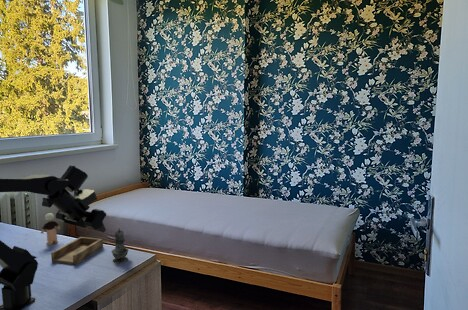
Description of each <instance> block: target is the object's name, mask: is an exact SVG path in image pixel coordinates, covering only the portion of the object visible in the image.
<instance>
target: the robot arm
mask: <svg viewBox="0 0 468 310" xmlns="http://www.w3.org/2000/svg"><path fill="white" fill-rule="evenodd" d="M87 179H89V175H88V174H87V172H86V171H83V170H82V169H80V168H78V167H77V166H76V165H69V166H68V167H67V168H66V170H65V172H64V173H63V174H62V175H61V177H57V176H54V175H50V174H49V175H48V174H42V173H39V174H37V173H36V174H32V175H28V176H24V177H0V193H31V194H32V193H33V194H39V195H45V197H42V202H41V206H42V207H46V208H52V207H53V206H54V207H55V208H56V210H57V209H58V210H57V212H56V213H55V219H56V220H57V221H59V222H61V223H64V224H68V225H71V226H76V227H81V228H85V229H86V228H88V230H92V231H96V232H100V233H105V232H106V231H107V229H106V227H105V224H104V219H105V218H106V217H107V213H106V212H105V211H104V210H102V209H98V208H94V209H92V210H91V211H88V210H89V209H90V207H91V206H90V205H91V204H92V203H93V202H95V201H97V200H98V197H97V193H96V192H95V190H94V189H88V188H87V189H81V188H82V185H83V184H84V183H85V181H86V180H87ZM72 193H73V195H72ZM84 219H85V220H84ZM37 258H38V257H37V256H35V255H32V254H31V253H30V252H29V251H28V250H27V249H26V248H22V247H19V246H16V245H14V246H13V247H10V246H9V245H7V244H6V243H5V242H3V241H2V240H1V239H0V267H2V269H1V270H0V285H2V286H3V287H1V298H2V299H1V300H2V304H1V305H0V310H22V309H24V308H26V307H27V306H28V305H30V304H31V303H33V302H34V301H36V297H32V289H31V287H32V286H31V285H33V283H34V281H35V276H36V272H37V270H38V267H39V262H38V260H37Z"/></svg>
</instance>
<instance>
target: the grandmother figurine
mask: <svg viewBox="0 0 468 310" xmlns="http://www.w3.org/2000/svg"><path fill="white" fill-rule="evenodd" d="M44 219H45V220H46V222H47V223H44V225H43V226H42V227H41V231H40V233H41V235H42V234H44V233H45V230H46V241H47V242H46V245H47V246H52V245H53V244H57V243H59V241H58V234H57V230H60V229H61V227H60V224H59V223H58V222H57V221H56V220H54V219H55V215H54V213H52V212H48V213H46V214H45V216H44ZM56 228H57V230H56Z"/></svg>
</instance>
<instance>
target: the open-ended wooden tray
mask: <svg viewBox="0 0 468 310" xmlns="http://www.w3.org/2000/svg"><path fill="white" fill-rule="evenodd" d="M103 248H104V239H103V238H96V237H86V236H79V237H78V238H76V239H74V240H72V241H70V242H68V243H66V244H65V245H64V244H63V246H61V247H59V248H57V249H55V250H53V251H51V252H50V253H51V254H50V256H51V257H50V258H51V263H58V264H65V265H71V266H72V265H74V266H77V265H78V264H80V263H81V262H82V261H84V260H86V259H88V258H89V257H91V256H92V255H93V254H96V253H97V252H98V251H100V250H101V249H103Z"/></svg>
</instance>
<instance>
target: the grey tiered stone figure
mask: <svg viewBox="0 0 468 310" xmlns="http://www.w3.org/2000/svg"><path fill="white" fill-rule="evenodd" d="M124 233H125V232H124V231H123V230H121V229H120V228H118V229H117V230H116V231H115V233H114V238H115V239H114V240H113V241H114V243H115V244H114V245H115V247H114V249H112V250H111V253H112V256H113V258H114V259H112V263H114V264H123V263H126V262H128V261H129V258H128V257H127V256H128V253H129V248H127V247H125V241H126V240H125V238H124V237H125V235H124Z"/></svg>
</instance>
